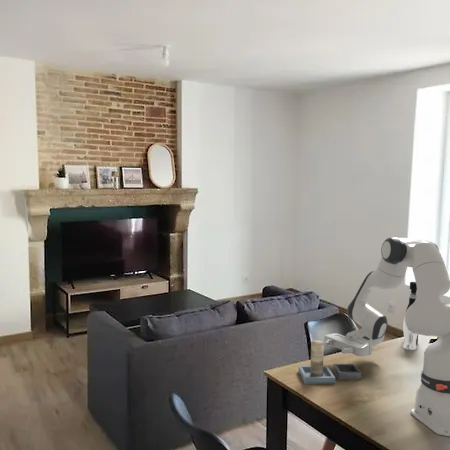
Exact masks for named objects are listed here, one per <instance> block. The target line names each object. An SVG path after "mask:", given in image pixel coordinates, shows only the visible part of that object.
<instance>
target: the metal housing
mask: <svg viewBox="0 0 450 450" xmlns="http://www.w3.org/2000/svg"><path fill="white" fill-rule="evenodd" d="M332 373H333V375H334V376H335V378H337V379H338V381H361V379H362V372H361V370H360V369H359V368H358V367H357V365H356V364H355V363H333V364H332Z"/></svg>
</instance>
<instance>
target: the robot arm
mask: <svg viewBox="0 0 450 450" xmlns="http://www.w3.org/2000/svg"><path fill="white" fill-rule="evenodd" d="M380 252H381V258H380V260H379V263H378V265H377V268H375V270H373V271H370V272H369V273H368V274H367V275H366V276H365V278H364V279H363V282H362V283H361V285H360V286H359V288H358V290H357V292H356V293H355V296H354V297H353V299H352V300H351V301H350V303H349V304H348V306H347V309H346V313H347V318H348V319H349V320H352V321H353V322H354V323H356V324H358V325H359V326H360V327H361V329H356V330H352V331H349V332H347V333H346V335H342V334H341V333H337V332H336V333H328V334H325V335H324V339H323V342H324V347H326V348H328V347H330V346H331V347H334V348H335V349H338V350H341V353H342V354H344V355H345V354H352V355H356V356H357V357H366V356H370V355H372V353H373V352H372V351H373V348H374V347H376V346H378V345H379V344H381V343H382V342H383V341H384V339H385V334H386V332H387V330H388V319H387V316H385V315H384V314H383V313H382V312H381V311H379V310H378V309H376V308H374V307H373V306H371V305H370V304H369V303H368V301H367V300H368V298H369V296H370V295H371V293H372V291H373V289H374V288H376V289H380V290H393V289H396V288H398V287H399V286H401V284H402V283H403V281H404V278H405V275H406V272H407V271H408V268H412V271H413V276H414V280H415V281H414V282H416V285H417V292H416V294H417V297H416V300H415V302H414V303H413V304H412V305H411V306H410V307H409V308H408V309H407V308H406V309H407V311H406V310H405V313H404V316H405V323H406V326H407V328H408V329H409V330H410V331H411V332H412V333H414V334H418V336H419V335H420V336H425V337H438V338H437V340H436V341H435V342H433V343H432V344H429V345H428V346H427V347H426V348H425V349H424V351H423V365H422V370H421V374H420V382H421V384H420V385H419V387H418V388H417V390H416V393H415V394H416V395H415V398H414V399H415V401H414V407H413V408H412V409H411V410H410V415H412V416H413V417H414V418H416V419H417V420H418V421H420V422H421V423H422V424H423V425H424V426H426V427H428V429H430V430H431V431H432V432H434V433H435V434H437V435H439V436H445V437H450V302H449V303H448V302H442V301H441V297H443V296H444V295H446V294H447V293H449V291H450V276H449V274H448V271H447V267H446V264H445V261H444V258H443V257H442V254H441V252H440V250H439V247H438V245H437V244H436V243H434V242H432V241H429V240H423V239H422V240H421V239H416V238H411V237H397V236H396V237H395V236H394V237H388V238H386V239H385V240H384V242H383V243H382V245H381V250H380Z"/></svg>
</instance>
